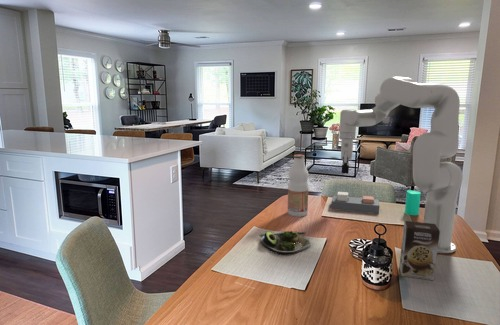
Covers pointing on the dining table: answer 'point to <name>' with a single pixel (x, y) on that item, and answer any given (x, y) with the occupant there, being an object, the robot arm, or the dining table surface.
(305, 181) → the fruit juice
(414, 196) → the candle
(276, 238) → the salad plate
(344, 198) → the key offwhite
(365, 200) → the key terracotta
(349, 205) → the block
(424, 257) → the coffee box
